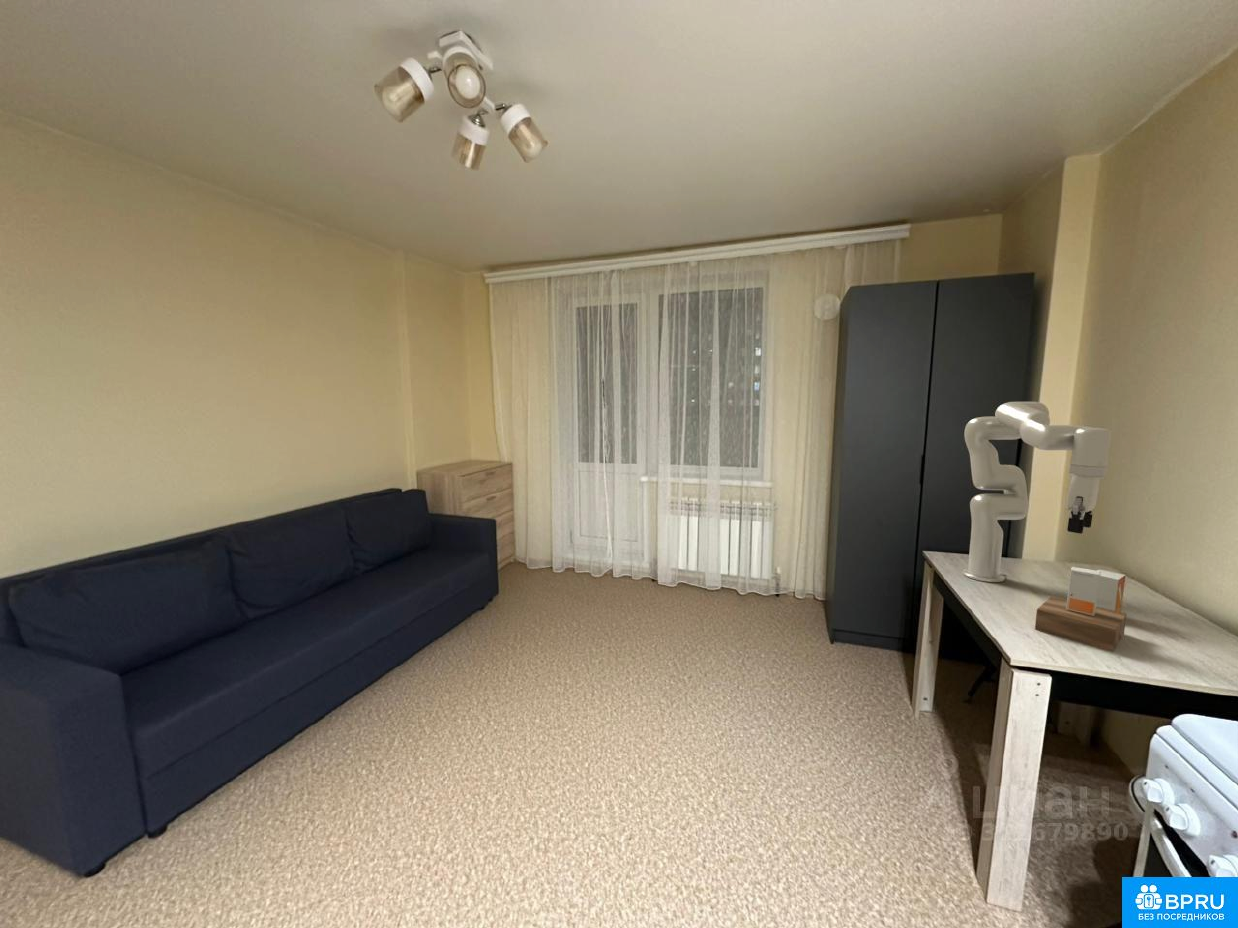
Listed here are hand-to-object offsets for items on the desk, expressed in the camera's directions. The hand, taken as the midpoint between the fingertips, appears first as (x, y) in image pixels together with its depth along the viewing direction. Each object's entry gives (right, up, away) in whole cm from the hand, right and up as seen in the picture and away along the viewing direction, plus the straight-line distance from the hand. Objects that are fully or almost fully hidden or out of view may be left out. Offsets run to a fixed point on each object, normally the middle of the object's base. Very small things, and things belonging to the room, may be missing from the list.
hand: (1079, 529), depth 141 cm
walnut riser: (-3, -29, -3) cm, 29 cm away
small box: (+15, -28, +8) cm, 32 cm away
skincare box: (-3, -23, -3) cm, 23 cm away
